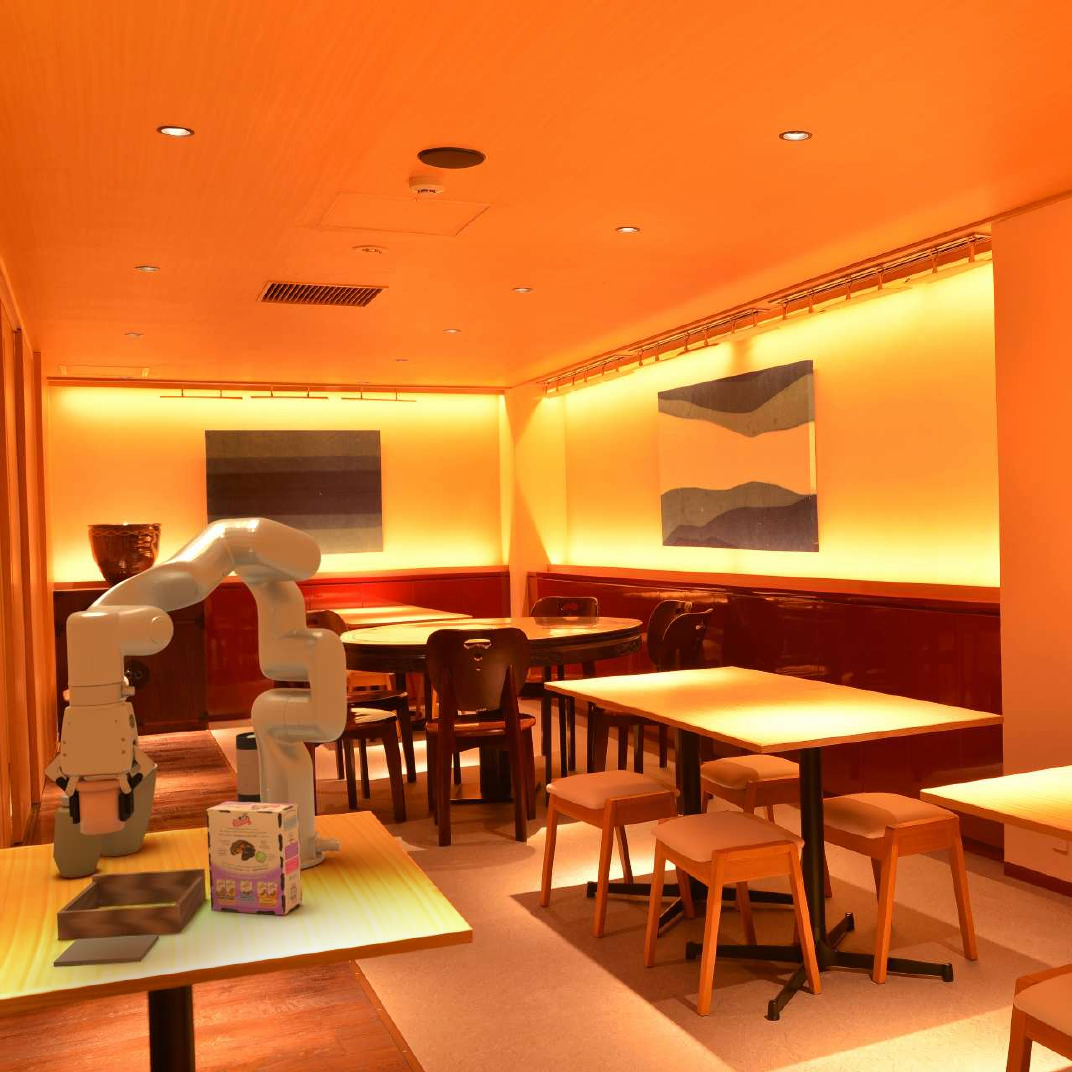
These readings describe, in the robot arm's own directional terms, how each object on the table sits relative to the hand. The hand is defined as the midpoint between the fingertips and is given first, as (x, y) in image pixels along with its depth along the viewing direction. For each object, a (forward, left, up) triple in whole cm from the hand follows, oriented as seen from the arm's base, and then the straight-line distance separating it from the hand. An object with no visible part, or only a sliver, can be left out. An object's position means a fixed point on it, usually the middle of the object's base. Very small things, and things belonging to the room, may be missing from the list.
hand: (102, 819), depth 162 cm
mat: (0, 0, -19) cm, 19 cm away
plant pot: (+16, -56, -19) cm, 61 cm away
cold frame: (0, -15, -19) cm, 24 cm away
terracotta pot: (0, 0, -1) cm, 1 cm away
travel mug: (-9, -64, -19) cm, 67 cm away
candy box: (-18, -17, -19) cm, 31 cm away
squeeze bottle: (+19, -42, -19) cm, 50 cm away
